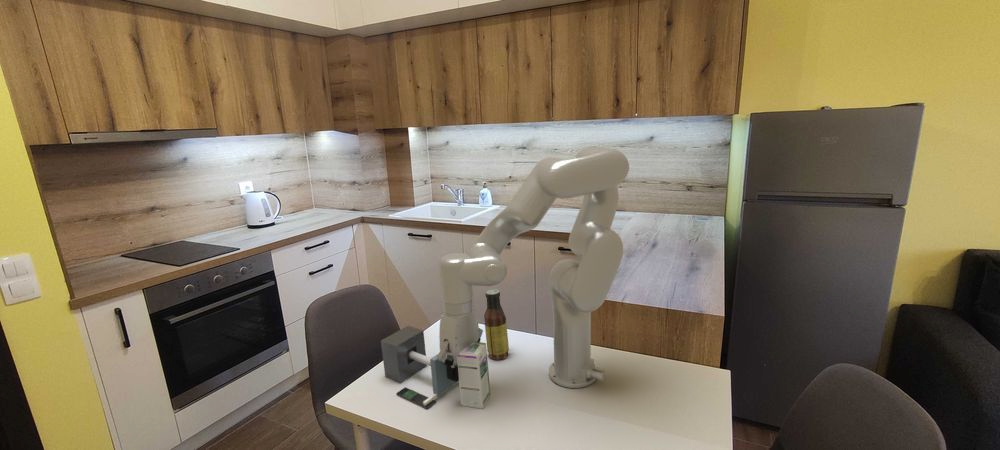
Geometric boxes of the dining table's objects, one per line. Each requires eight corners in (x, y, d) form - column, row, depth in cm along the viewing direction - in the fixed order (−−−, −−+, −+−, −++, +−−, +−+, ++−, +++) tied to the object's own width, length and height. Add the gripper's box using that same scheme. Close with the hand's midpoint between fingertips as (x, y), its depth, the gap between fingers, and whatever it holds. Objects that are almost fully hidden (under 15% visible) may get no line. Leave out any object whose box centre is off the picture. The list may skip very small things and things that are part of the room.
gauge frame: (464, 380, 118) (462, 343, 115) (427, 409, 107) (423, 368, 104) (412, 360, 129) (408, 325, 127) (373, 384, 118) (368, 347, 116)
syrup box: (483, 409, 106) (479, 354, 102) (460, 405, 108) (455, 351, 104) (490, 395, 111) (487, 342, 108) (468, 392, 113) (464, 340, 109)
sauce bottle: (513, 352, 130) (509, 289, 126) (501, 363, 125) (497, 297, 120) (494, 347, 134) (490, 286, 129) (482, 357, 129) (478, 293, 124)
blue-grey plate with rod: (463, 377, 118) (461, 342, 115) (426, 405, 107) (422, 368, 104) (424, 361, 126) (421, 329, 124) (385, 387, 115) (381, 352, 113)
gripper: (468, 290, 114) (472, 352, 118) (421, 315, 100) (427, 385, 105) (492, 295, 110) (495, 360, 114) (446, 323, 96) (451, 395, 100)
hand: (463, 371), depth 109 cm, fingers open, 7 cm apart
